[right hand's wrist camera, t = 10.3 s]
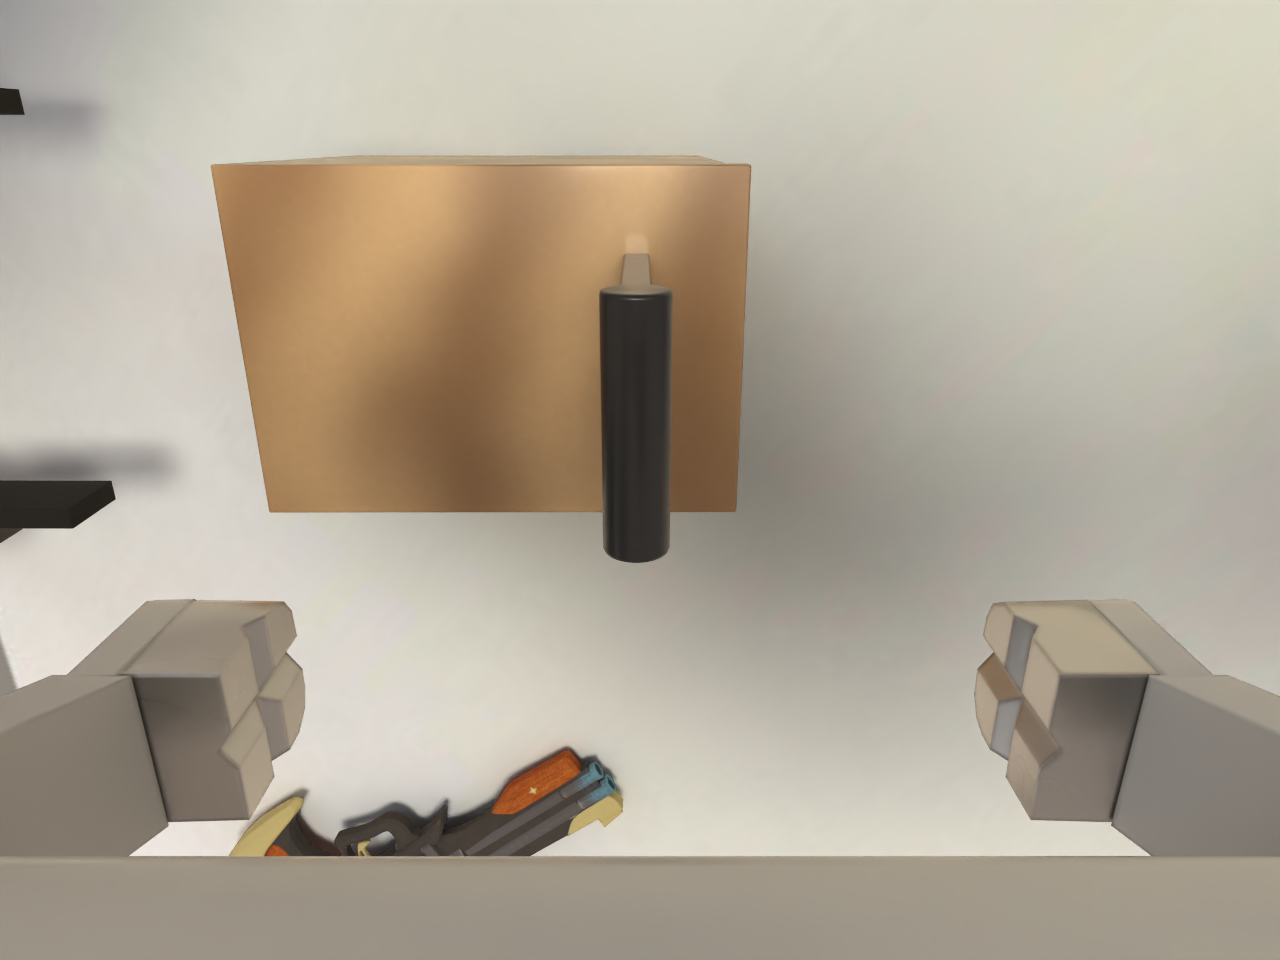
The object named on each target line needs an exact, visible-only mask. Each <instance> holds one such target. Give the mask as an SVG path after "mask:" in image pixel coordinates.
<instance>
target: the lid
mask: <svg viewBox="0 0 1280 960" xmlns="http://www.w3.org/2000/svg"><path fill="white" fill-rule="evenodd" d="M211 170H212V176H213V182H214V188H215V194H216V200H217V206H218V211H219V217H220V223H221V229H222V235H223V241H224V247H225V253H226V259H227V264H228V270H229V276H230V282H231V288H232V294H233V300H234V306H235V312H236V317H237V323H238V329H239V335H240V341H241V347H242V353H243V359H244V365H245V370H246V376H247V382H248V388H249V394H250V400H251V406H252V412H253V418H254V424H255V429H256V435H257V441H258V447H259V453H260V459H261V465H262V471H263V477H264V482H265V488H266V494H267V500H268V506H269V511H270V512H603V547H604V550H605V552H606V553H607V554H608V555H609V556H610V557H612V558H614V559H616V560H619V561H624V562H632V563H641V562H649V561H653V560H656V559H659V558H661V557H663V556H664V555H665V554H666V553H667V551H668V549H669V541H670V512H735V511H736V504H737V481H738V459H739V436H740V413H741V390H742V367H743V344H744V321H745V298H746V275H747V252H748V229H749V206H750V184H751V165H749V164H215V165H211Z"/></svg>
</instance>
